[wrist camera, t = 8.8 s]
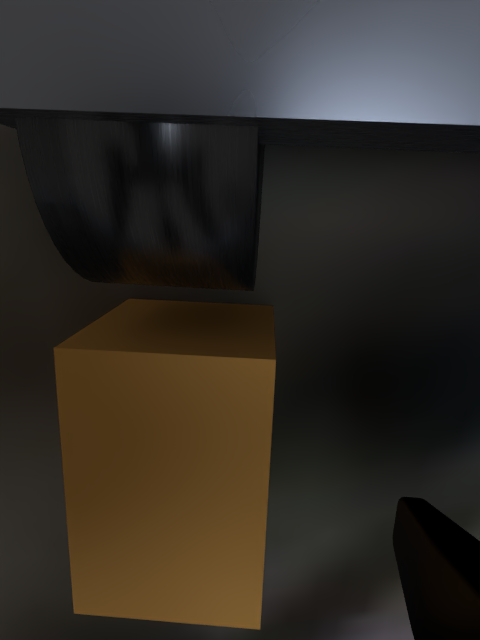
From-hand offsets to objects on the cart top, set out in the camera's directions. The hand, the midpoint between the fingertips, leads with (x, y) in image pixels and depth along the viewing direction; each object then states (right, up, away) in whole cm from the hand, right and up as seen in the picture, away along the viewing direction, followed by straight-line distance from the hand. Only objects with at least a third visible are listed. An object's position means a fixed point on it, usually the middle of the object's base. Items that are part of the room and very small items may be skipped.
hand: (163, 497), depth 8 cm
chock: (0, +1, +4) cm, 5 cm away
